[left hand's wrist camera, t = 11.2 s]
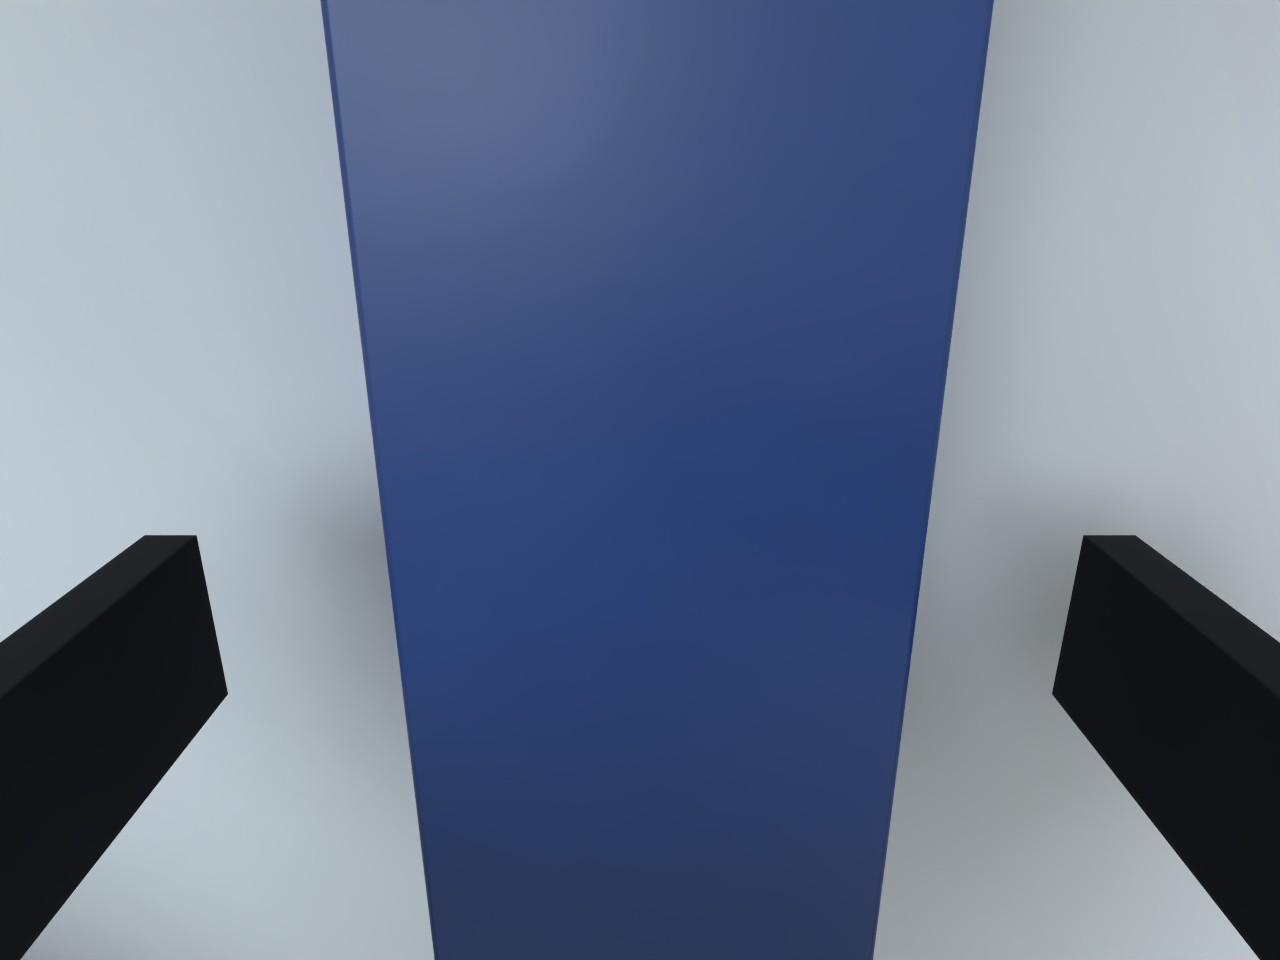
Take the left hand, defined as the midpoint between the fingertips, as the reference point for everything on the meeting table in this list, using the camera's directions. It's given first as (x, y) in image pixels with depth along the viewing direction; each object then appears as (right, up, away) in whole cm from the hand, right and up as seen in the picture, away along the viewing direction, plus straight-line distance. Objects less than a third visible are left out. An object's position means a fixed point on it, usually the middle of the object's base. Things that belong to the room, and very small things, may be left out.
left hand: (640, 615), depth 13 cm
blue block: (0, +5, +3) cm, 6 cm away
